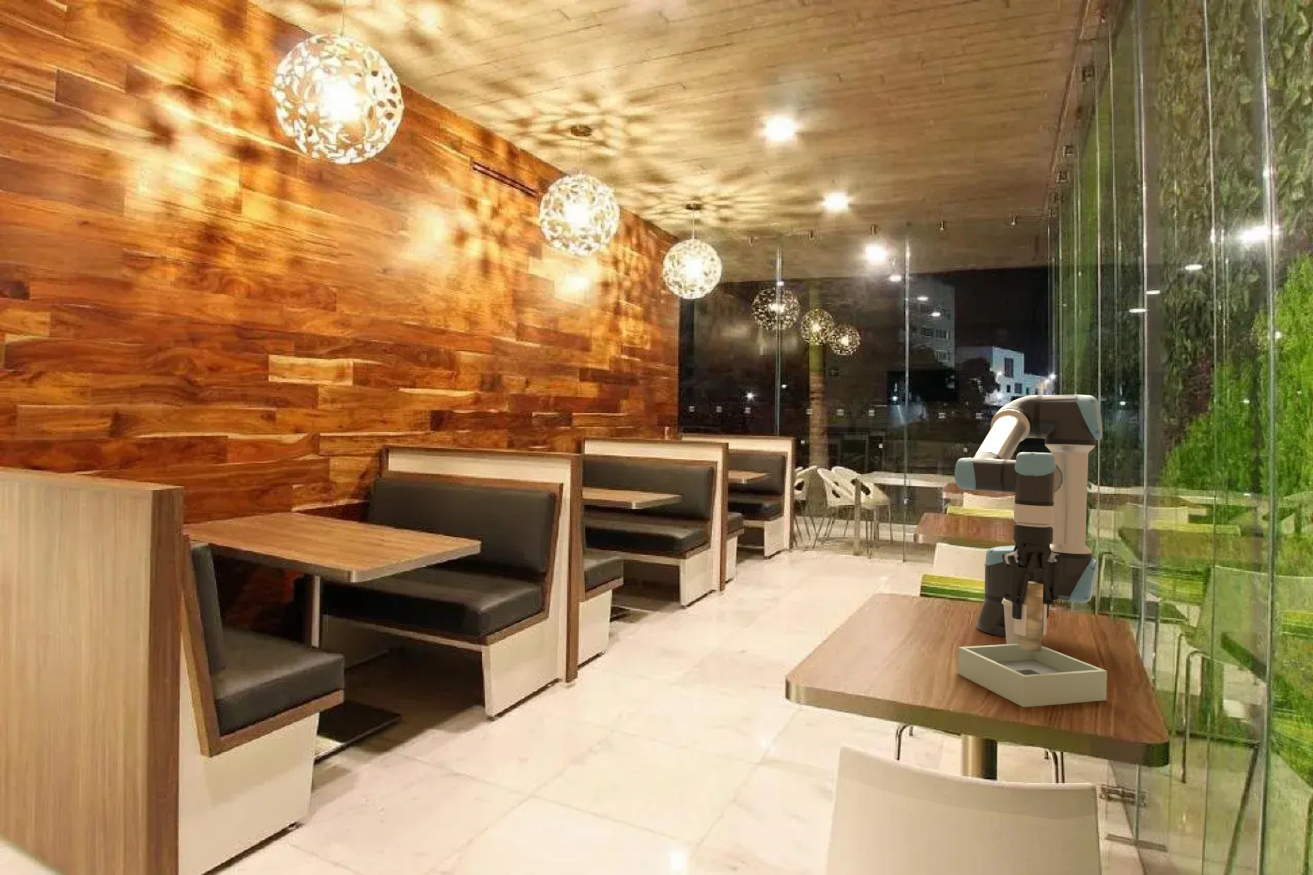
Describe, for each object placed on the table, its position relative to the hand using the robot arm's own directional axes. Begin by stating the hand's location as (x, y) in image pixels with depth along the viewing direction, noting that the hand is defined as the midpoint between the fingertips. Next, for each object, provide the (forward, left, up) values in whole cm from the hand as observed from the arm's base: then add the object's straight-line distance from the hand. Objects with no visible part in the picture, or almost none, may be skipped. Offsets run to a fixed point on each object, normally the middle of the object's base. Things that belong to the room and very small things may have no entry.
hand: (1029, 633), depth 156 cm
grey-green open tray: (0, 0, -11) cm, 11 cm away
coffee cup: (-13, -17, -12) cm, 25 cm away
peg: (0, 0, -3) cm, 3 cm away
